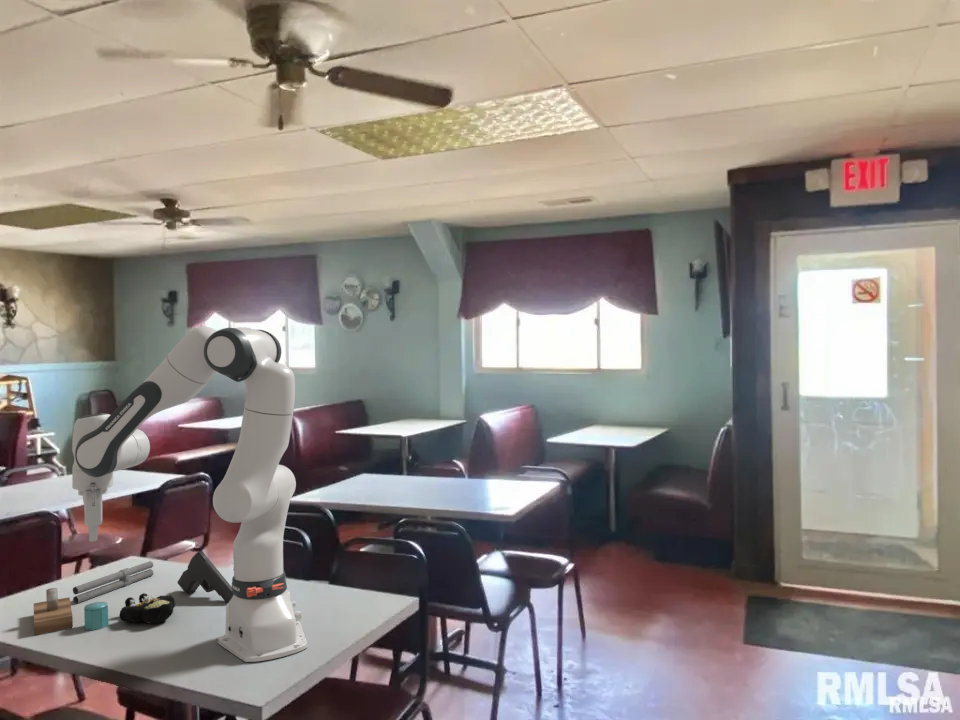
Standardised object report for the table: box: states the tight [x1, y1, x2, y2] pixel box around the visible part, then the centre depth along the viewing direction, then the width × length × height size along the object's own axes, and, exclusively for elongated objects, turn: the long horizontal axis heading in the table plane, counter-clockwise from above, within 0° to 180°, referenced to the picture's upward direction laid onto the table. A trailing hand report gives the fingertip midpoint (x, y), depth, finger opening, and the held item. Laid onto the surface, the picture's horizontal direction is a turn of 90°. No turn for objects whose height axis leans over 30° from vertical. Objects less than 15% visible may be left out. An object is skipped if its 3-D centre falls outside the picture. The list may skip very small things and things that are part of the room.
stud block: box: [33, 587, 74, 636], centre depth 183 cm, size 16×8×8 cm, turn 32°
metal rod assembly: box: [72, 560, 154, 604], centre depth 207 cm, size 26×3×5 cm, turn 158°
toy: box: [118, 593, 176, 625], centre depth 183 cm, size 12×8×15 cm
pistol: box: [177, 550, 233, 604], centre depth 199 cm, size 18×4×13 cm
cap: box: [83, 601, 109, 631], centre depth 179 cm, size 5×5×5 cm
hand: (93, 536), depth 179 cm, fingers open, 8 cm apart
